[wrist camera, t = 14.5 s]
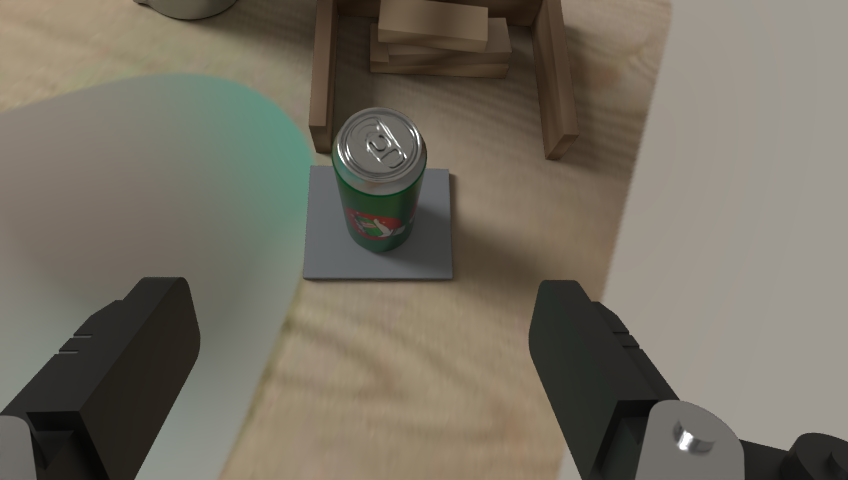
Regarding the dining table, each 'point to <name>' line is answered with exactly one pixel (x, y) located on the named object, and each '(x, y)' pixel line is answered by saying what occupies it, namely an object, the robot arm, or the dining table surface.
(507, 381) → the dining table surface
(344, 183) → the soda can
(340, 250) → the mat
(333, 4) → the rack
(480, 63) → the offcut stack
